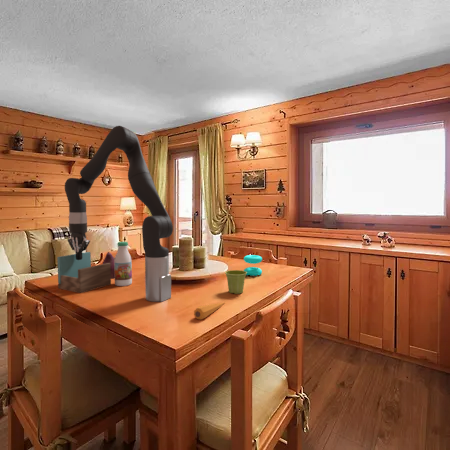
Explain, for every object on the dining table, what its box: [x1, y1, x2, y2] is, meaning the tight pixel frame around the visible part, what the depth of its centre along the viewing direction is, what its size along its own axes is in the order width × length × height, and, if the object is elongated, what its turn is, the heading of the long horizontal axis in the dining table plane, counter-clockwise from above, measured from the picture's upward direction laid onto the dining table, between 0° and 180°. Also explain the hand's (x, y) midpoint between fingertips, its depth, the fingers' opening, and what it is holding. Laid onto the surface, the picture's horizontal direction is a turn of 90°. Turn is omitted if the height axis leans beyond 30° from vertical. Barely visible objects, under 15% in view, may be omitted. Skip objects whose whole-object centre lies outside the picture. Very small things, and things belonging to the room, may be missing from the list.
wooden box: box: [57, 263, 112, 294], centre depth 139 cm, size 15×16×10 cm
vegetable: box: [102, 251, 115, 280], centre depth 156 cm, size 10×10×15 cm
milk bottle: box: [114, 241, 133, 287], centre depth 142 cm, size 8×8×20 cm
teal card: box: [56, 251, 92, 284], centre depth 142 cm, size 2×16×12 cm, turn 153°
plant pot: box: [224, 269, 247, 295], centre depth 131 cm, size 9×9×9 cm
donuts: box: [243, 254, 263, 277], centre depth 164 cm, size 10×10×10 cm
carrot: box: [193, 302, 225, 321], centre depth 108 cm, size 20×4×4 cm, turn 153°
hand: (79, 259), depth 140 cm, fingers closed
